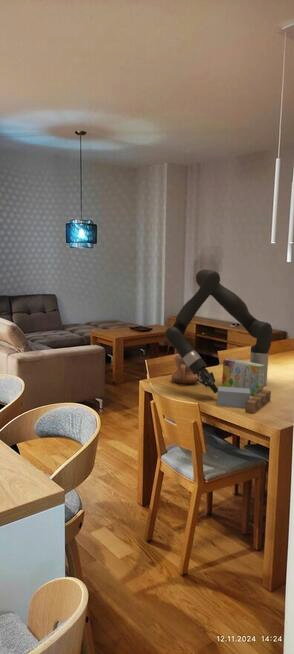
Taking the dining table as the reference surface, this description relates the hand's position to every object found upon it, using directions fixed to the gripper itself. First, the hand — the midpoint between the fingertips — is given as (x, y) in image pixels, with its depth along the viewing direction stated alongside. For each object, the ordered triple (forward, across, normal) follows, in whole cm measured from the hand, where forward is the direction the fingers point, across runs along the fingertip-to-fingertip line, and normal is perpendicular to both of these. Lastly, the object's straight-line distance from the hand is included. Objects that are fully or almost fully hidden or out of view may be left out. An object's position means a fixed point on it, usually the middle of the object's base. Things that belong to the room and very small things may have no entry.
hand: (217, 392), depth 218 cm
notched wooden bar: (+16, +3, -10) cm, 19 cm away
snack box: (+6, +22, 0) cm, 23 cm away
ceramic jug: (-16, +19, +21) cm, 32 cm away
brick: (+9, -1, -3) cm, 10 cm away
